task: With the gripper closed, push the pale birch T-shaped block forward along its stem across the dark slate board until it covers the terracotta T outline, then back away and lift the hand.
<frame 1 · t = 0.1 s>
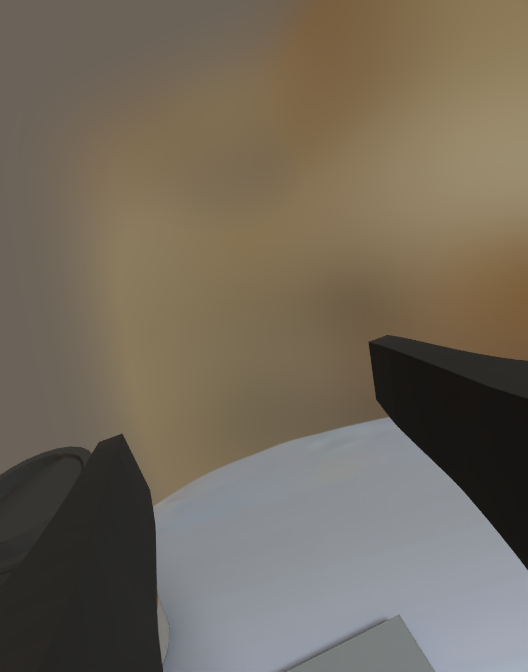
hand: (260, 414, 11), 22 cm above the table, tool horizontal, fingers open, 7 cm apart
coffee cup: (128, 658, 28), on the table
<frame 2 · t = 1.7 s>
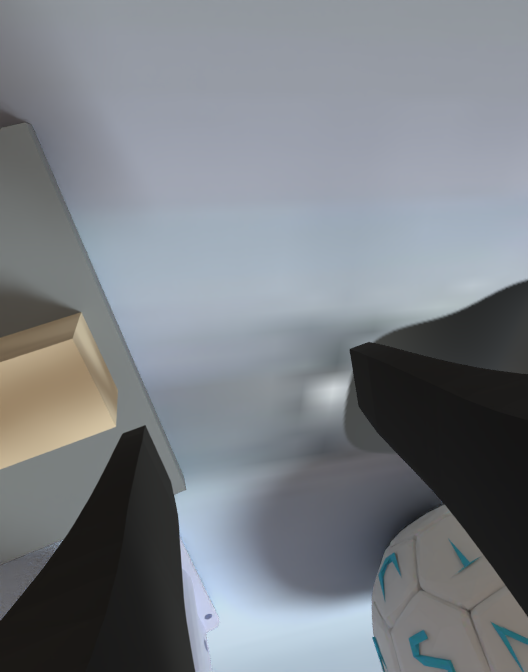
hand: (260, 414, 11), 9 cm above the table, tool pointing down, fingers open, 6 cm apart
puzzle ball: (421, 534, 32), on the table
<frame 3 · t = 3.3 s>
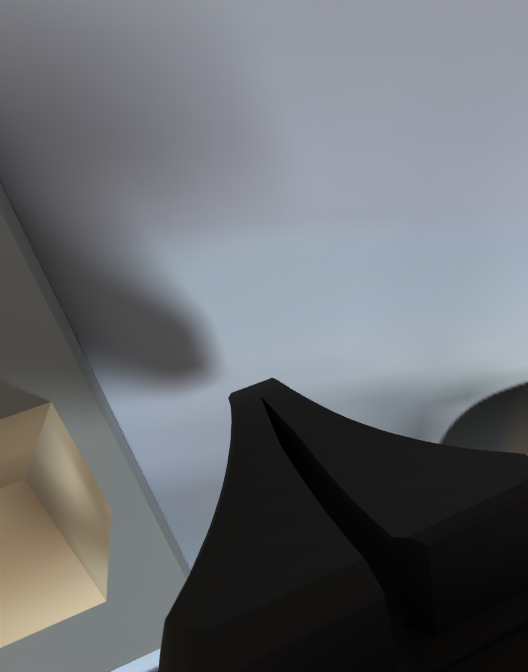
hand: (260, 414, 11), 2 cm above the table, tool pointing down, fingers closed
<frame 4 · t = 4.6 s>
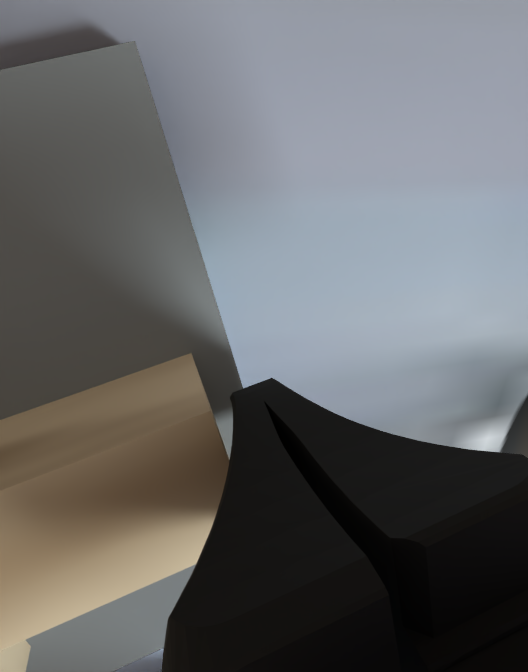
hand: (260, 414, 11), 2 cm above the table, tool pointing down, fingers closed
t block: (0, 491, 11), point 1 cm above the table, touching gripper, slate board
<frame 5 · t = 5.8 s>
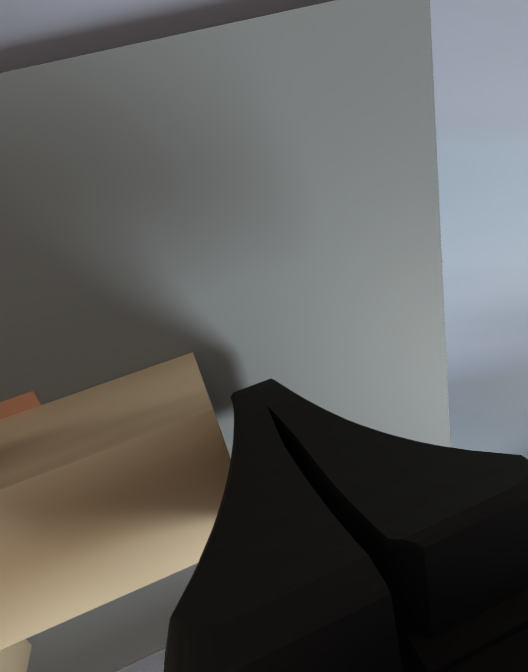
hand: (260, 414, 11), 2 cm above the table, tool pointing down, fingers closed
slate board: (45, 455, 12), on the table
t block: (2, 490, 11), point 1 cm above the table, touching gripper, slate board
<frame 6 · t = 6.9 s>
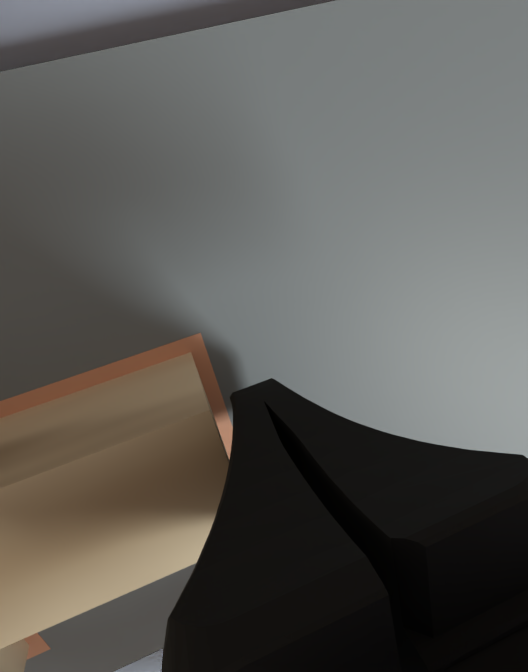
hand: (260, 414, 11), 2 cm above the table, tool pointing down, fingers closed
slate board: (188, 401, 13), on the table
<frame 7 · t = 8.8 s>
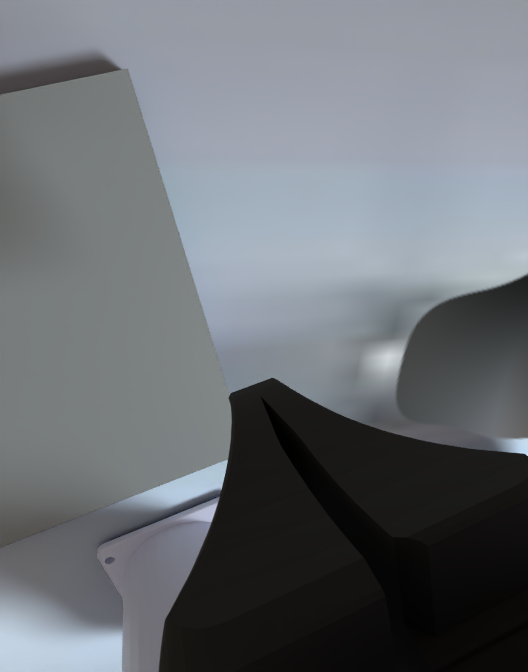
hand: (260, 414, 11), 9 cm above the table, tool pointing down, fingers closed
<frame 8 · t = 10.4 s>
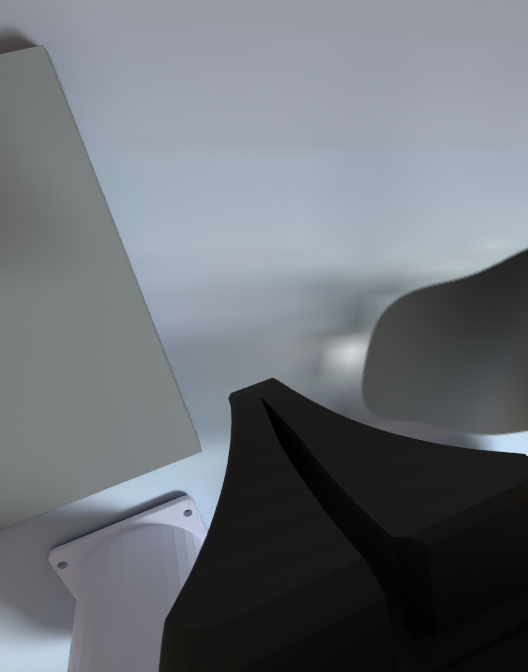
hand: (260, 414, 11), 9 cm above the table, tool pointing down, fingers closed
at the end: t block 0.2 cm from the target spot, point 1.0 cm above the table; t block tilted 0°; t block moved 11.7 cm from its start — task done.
